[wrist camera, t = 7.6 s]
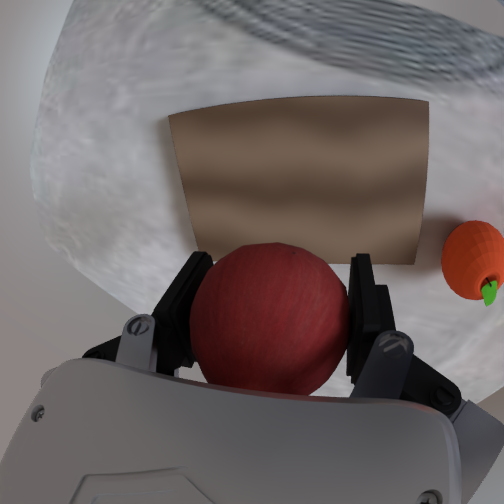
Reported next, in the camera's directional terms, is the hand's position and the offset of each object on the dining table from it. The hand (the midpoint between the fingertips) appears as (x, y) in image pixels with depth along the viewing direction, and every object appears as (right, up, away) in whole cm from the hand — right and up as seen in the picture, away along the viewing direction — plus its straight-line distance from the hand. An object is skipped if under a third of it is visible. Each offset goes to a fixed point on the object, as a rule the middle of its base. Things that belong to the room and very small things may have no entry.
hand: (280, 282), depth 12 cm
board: (+3, +7, +11) cm, 14 cm away
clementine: (+19, +2, +10) cm, 22 cm away
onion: (0, +1, +1) cm, 2 cm away
